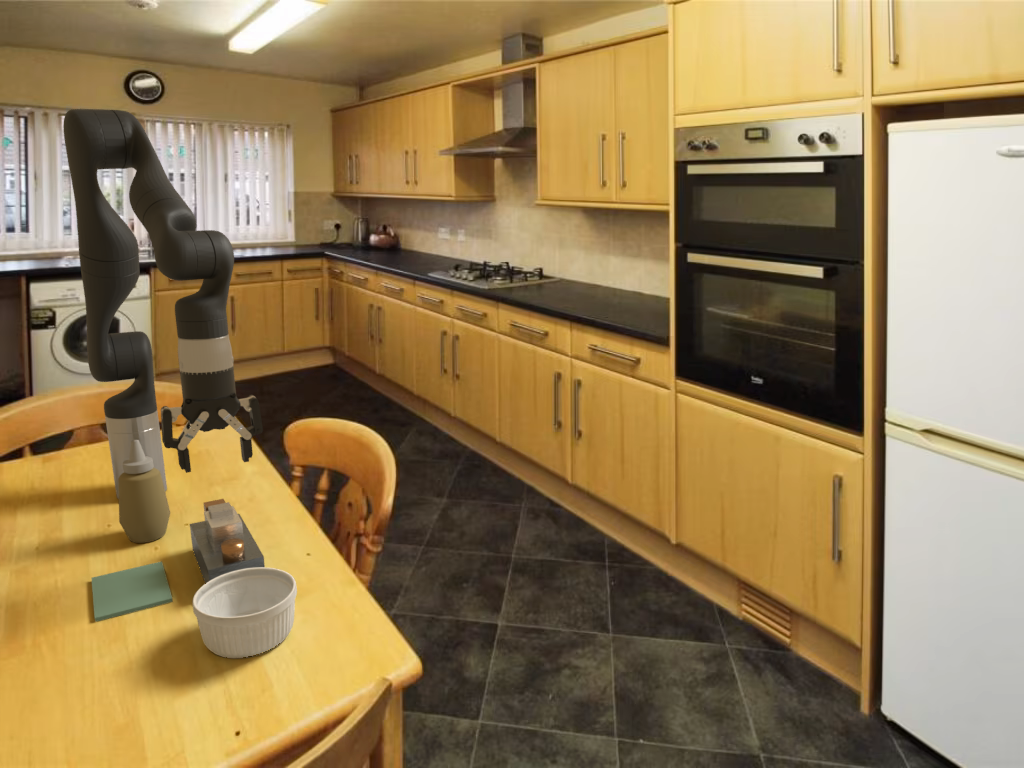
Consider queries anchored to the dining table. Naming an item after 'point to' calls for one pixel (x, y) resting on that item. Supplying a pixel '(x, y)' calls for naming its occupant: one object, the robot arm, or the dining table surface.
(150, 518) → the squeeze bottle
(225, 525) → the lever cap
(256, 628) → the ramekin
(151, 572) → the mat
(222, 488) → the dining table surface
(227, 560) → the plane body
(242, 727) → the dining table surface
